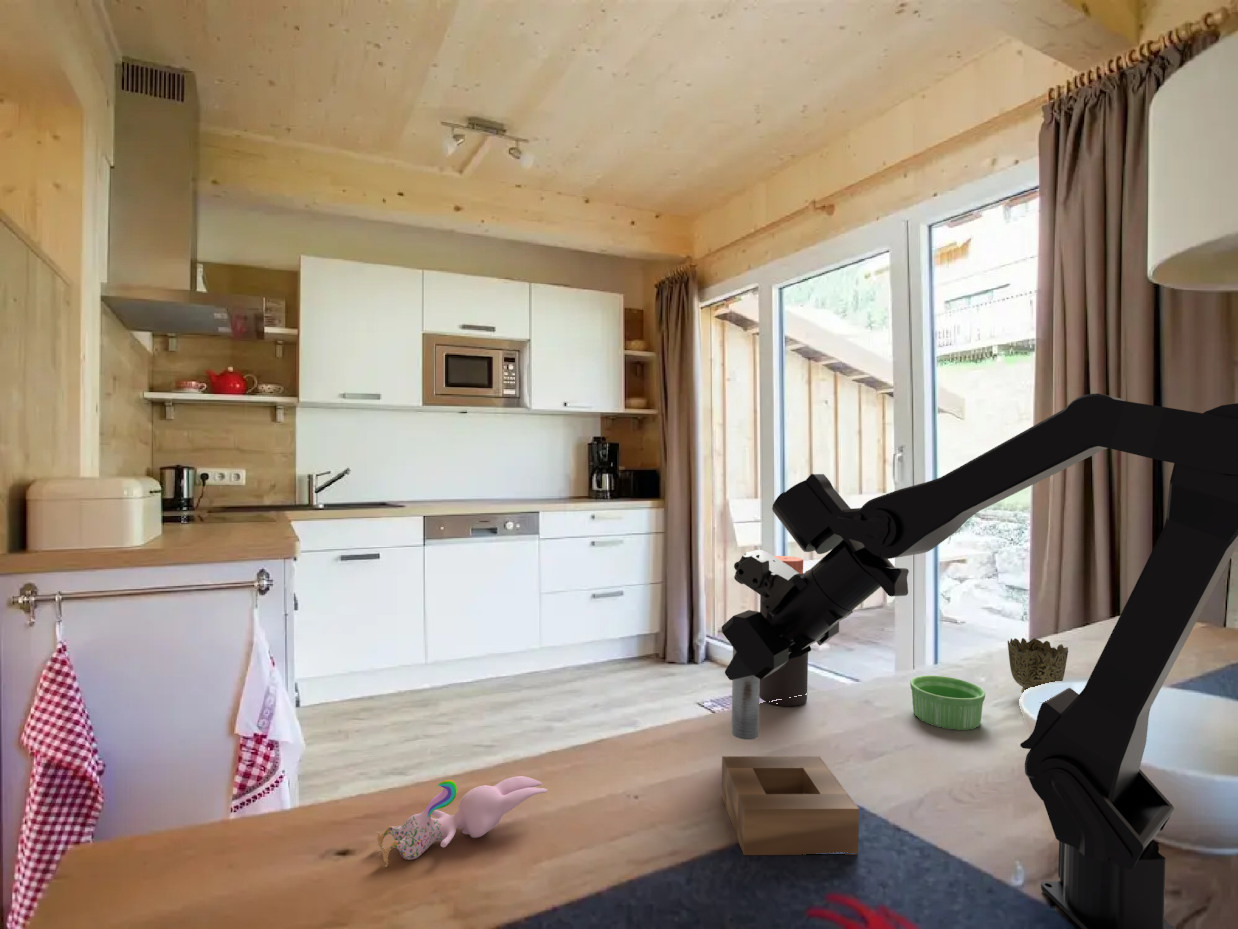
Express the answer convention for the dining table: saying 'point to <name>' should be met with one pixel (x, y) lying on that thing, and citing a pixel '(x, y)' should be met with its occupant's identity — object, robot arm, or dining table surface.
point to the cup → (1036, 662)
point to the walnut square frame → (788, 806)
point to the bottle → (794, 672)
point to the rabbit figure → (459, 815)
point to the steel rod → (745, 707)
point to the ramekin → (947, 702)
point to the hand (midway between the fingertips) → (734, 672)
